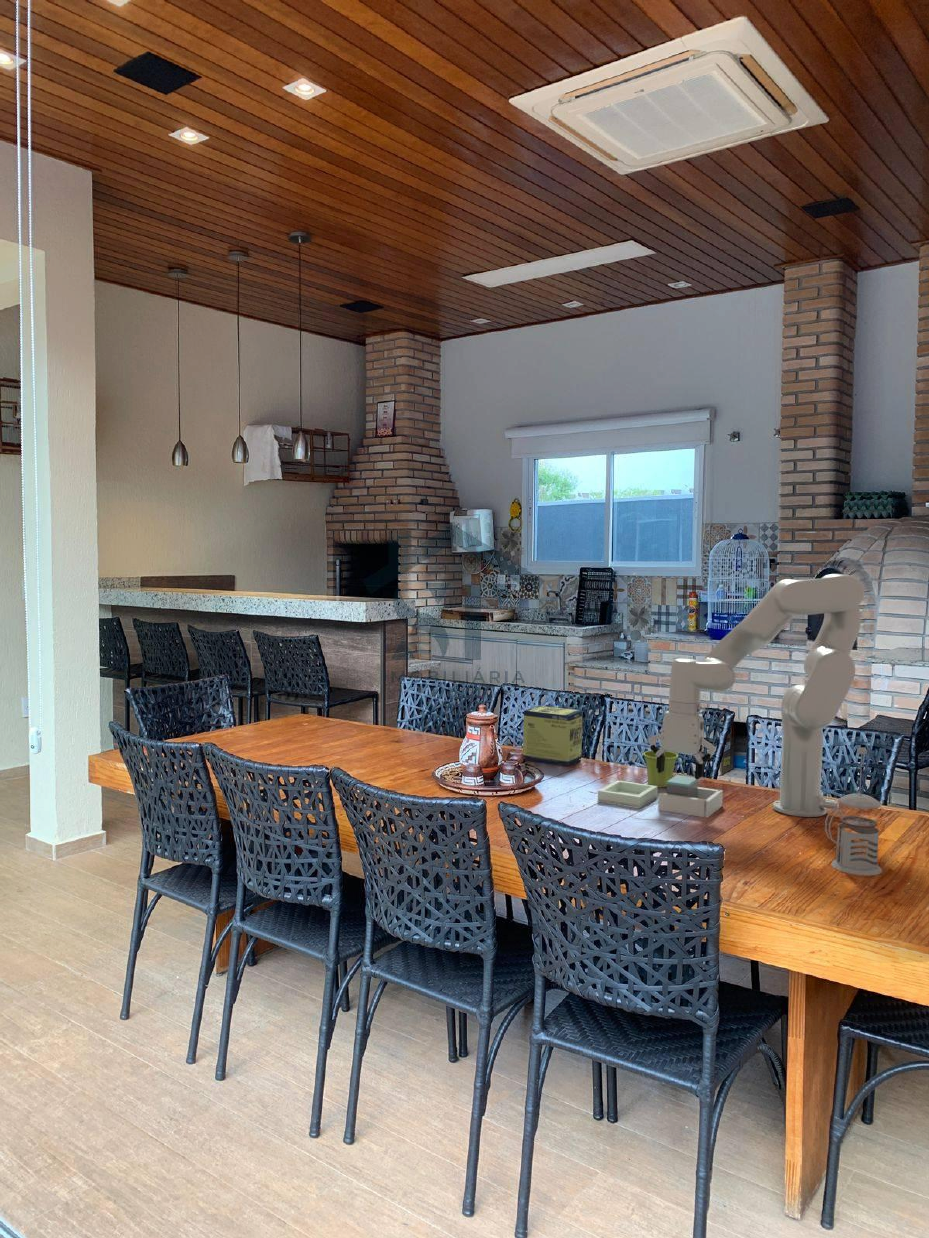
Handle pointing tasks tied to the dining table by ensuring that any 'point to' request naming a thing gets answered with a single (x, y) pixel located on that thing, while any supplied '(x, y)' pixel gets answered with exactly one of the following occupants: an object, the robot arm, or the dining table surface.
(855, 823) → the french press
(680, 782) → the grey cube with lid
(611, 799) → the tray
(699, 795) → the bay
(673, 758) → the plant pot
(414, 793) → the dining table surface
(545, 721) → the protein box
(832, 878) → the dining table surface
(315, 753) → the dining table surface
